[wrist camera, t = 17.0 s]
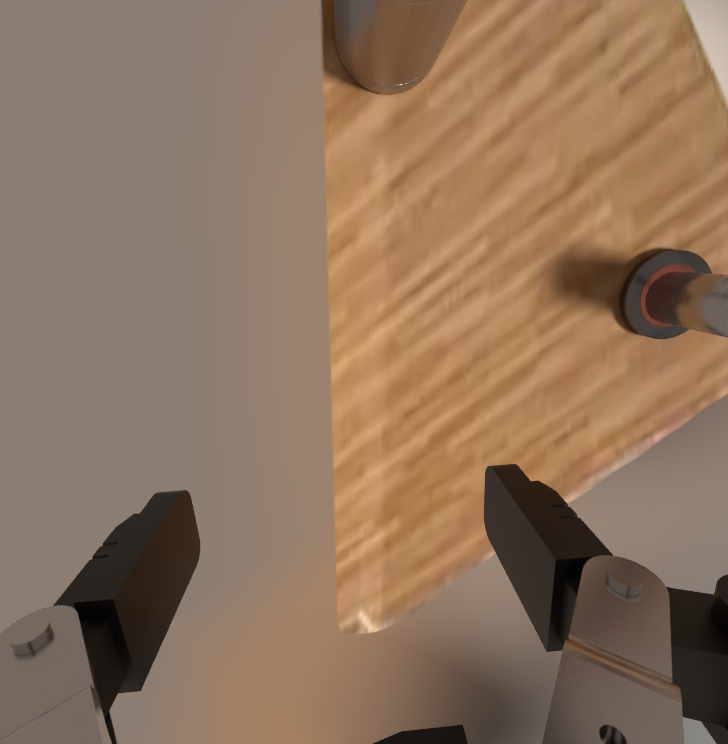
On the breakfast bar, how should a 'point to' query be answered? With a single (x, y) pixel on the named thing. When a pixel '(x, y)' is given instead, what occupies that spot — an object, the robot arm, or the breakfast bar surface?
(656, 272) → the flange pad
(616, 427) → the breakfast bar surface
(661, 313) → the grey metal cylinder
